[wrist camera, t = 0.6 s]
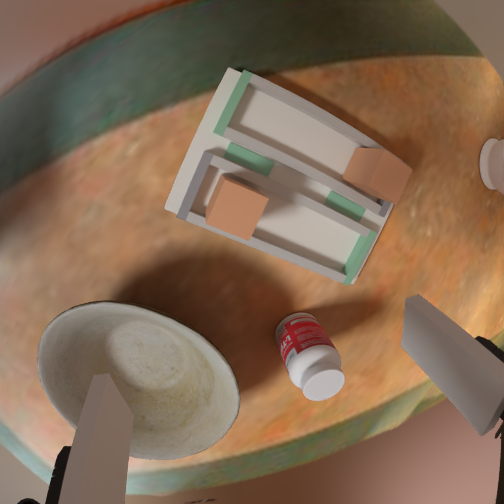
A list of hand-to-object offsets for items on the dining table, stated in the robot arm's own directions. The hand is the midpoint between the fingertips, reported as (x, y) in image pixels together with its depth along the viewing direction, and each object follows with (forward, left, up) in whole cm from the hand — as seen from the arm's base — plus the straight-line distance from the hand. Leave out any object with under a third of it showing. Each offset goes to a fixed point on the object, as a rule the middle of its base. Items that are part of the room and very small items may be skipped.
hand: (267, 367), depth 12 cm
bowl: (-4, -19, -24) cm, 31 cm away
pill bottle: (+14, -9, -24) cm, 29 cm away
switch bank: (+5, +8, -23) cm, 25 cm away
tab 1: (-1, +3, -22) cm, 22 cm away
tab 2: (+11, +12, -22) cm, 27 cm away
